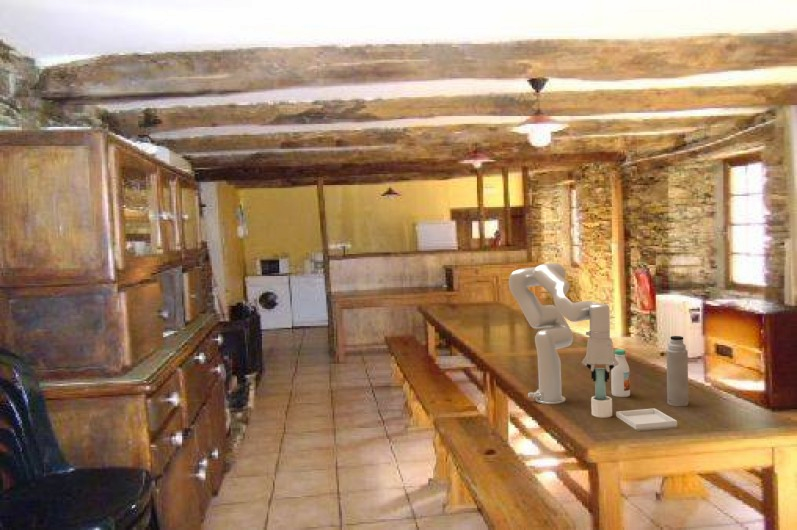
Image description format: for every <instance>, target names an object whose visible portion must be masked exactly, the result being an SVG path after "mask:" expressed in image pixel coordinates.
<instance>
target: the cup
mask: <svg viewBox="0 0 797 530" xmlns="http://www.w3.org/2000/svg"><path fill="white" fill-rule="evenodd" d="M590 402H591V403H590V408H591V416H594V417H596V418H610V417H612V416H613V398H612V397H610V396H607V395H606V400H596V399H595V395H593V396H591V398H590Z"/></svg>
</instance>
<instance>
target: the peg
mask: <svg viewBox="0 0 797 530" xmlns="http://www.w3.org/2000/svg"><path fill="white" fill-rule="evenodd" d="M594 369H595V381H594V391H595V392H594V393H595V394H594V396H595V399H596V400H606V396H607V393H606V392H607V388H606V387H607V386H606V385H607V384H606V383H607V382H605V372H606V368H603V367H596V368H595V367H594Z"/></svg>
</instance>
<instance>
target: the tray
mask: <svg viewBox="0 0 797 530" xmlns="http://www.w3.org/2000/svg"><path fill="white" fill-rule="evenodd" d="M615 417H616V418H618V419H620V420H621V421H623V422H624V423H625V424H627V425H628V426H630V427H631V428H632V429H633V430H636V431H635V432H638V431H637V430H642V431H650V430H651V431H653V429H654V430H662V429H673V428H678V421H677V420H676V419H675V418H673V417H671V416H669V415H667V414H665V412H662V411H660V410H659V409H657V408H643V409H632V410H630V409H629V410H622V411H621V410H619V411H615Z"/></svg>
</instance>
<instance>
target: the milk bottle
mask: <svg viewBox="0 0 797 530" xmlns="http://www.w3.org/2000/svg"><path fill="white" fill-rule="evenodd" d="M613 353H614V357H615V358H616V360H617V361H618V363H619V365H617V366H615V367H614V368H613V369H611V370H610V379H611V380H610V381H611V385H610V386H611V387H610V388H611V396H613V397H616V398H626V397H627V398H628V397H630V396H631V374H630V373H631V371H630V366H629V364H628V362H627V359H626V353H627V352H626V350H625V349H621V348H618V349H613ZM613 363H614V362H613Z"/></svg>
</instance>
